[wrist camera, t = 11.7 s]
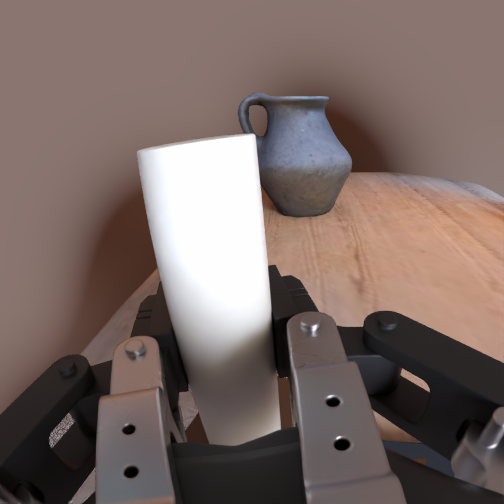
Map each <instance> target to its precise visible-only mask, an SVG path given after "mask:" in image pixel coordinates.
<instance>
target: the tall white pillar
mask: <svg viewBox="0 0 504 504" xmlns="http://www.w3.org/2000/svg"><path fill="white" fill-rule="evenodd" d="M137 160H138V166H139V172H140V178H141V184H142V190H143V196H144V202H145V207H146V212H147V218H148V223H149V228H150V233H151V238H152V242H153V247H154V252H155V256H156V261H157V266H158V270H159V274H160V279H161V283H162V287H163V291H164V295H165V299H166V303H167V307H168V311H169V315H170V319H171V322H172V326H173V330H174V333H175V337H176V341H177V344H178V348H179V351H180V355H181V358H182V362H183V365H184V368H185V372H186V375H187V378H188V381H189V384H190V388H191V391H192V394H193V397H194V400H195V403H196V406H197V409H198V412H199V413H198V414H197V415H196V417H195V418H194V420H193V421H192V422H191V424H190V425H189V427H188V428H187V429H186V431H185V433H186V438H187V442H197V443H206V444H216V445H228V446H236V445H240V444H243V443H246V442H248V441H251V440H254V439H257V438H259V437H262V436H264V435H267V434H269V433H272V432H274V431H277V430H280V429H286V428H291V427H293V423H292V411H291V399H290V382H289V379H288V378H284V377H283V378H279V377H278V376H277V369H276V358H275V346H274V333H273V321H272V307H271V296H270V284H269V273H268V261H267V250H266V239H265V228H264V218H263V207H262V197H261V186H260V176H259V166H258V156H257V146H256V136H255V134H252V133H251V134H237V135H227V136H218V137H211V138H203V139H196V140H189V141H182V142H176V143H171V144H165V145H160V146H155V147H150V148H145V149H141V150H139V151H137Z"/></svg>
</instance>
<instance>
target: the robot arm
mask: <svg viewBox="0 0 504 504" xmlns="http://www.w3.org/2000/svg"><path fill="white" fill-rule="evenodd" d="M268 273H269V284H270V296H271V307H272V321H273V333H274V346H275V358H276V369H277V373H278V376H279V378H283V377H288V379H289V382H290V399H291V411H292V423H293V427H291V428H286V429H280V430H277V431H274V432H272V433H269V434H267V435H264V436H262V437H259V438H257V439H254V440H251V441H248V442H246V443H243V444H240V445H236V446H228V445H216V444H206V443H197V442H187V438H186V433H185V428H184V423H183V418H182V413H181V408H180V405H179V403H178V400H179V392H186V391H188V386H189V381H188V378H187V375H186V372H185V368H184V365H183V362H182V358H181V355H180V351H179V348H178V344H177V341H176V337H175V333H174V330H173V326H172V322H171V319H170V315H169V311H168V307H167V303H166V299H165V295H164V291H163V287H162V283H161V281H160V283H159V286H158V290H157V294H156V295H150V296H147V298H146V299H145V300H144V301H143V302H142V303H141V304H140V307H139V310H138V313H137V316H136V320H135V323H134V326H133V329H132V333H131V336H130V338H129V339H126V340H124V341H123V342H121V343H120V344H119V345H118V346H117V347H116V348H115V350H114V352H113V359H112V360H110V361H107V362H104V363H100V364H97V365H93V366H90V364H89V362H88V360H87V359H86V358H85V357H84V356H82V355H68V356H65V357H63V358H61V359H59V360H58V361H56V362H55V363H54V364H52V365H51V366H50V367H49V368H48V369H47V370H46V371H45V372H44V373H43V374H42V375H41V376H40V377H39V378H38V379H37V380H35V381H34V382H33V383H32V384H31V385H30V386H29V387H28V388H27V389H26V390H25V391H24V392H23V393H22V394H21V395H20V396H19V397H18V398H17V399H16V400H15V401H14V402H13V403H12V404H11V405H10V406H9V407H8V408H7V409H6V410H5V411H4V412H3V413H2V414H1V415H0V504H68V503H69V502H70V500H71V499H72V498H73V496H74V495H75V494H76V492H77V491H78V490H79V488H80V487H81V485H82V484H83V483H84V481H85V480H86V479H87V477H88V476H89V475H90V473H91V472H92V471H93V469H94V468H95V467H96V491H95V492H94V493H93V494H92V495H91V496H90V497H89V498H88V499H87V500H86V501H85V502H84V503H82V504H504V363H502V362H500V361H498V360H496V359H494V358H492V357H490V356H488V355H486V354H483V353H481V352H479V351H477V350H475V349H473V348H471V347H469V346H467V345H465V344H463V343H461V342H458V341H456V340H454V339H452V338H450V337H448V336H446V335H444V334H442V333H440V332H437V331H435V330H433V329H431V328H429V327H427V326H425V325H423V324H421V323H419V322H416V321H414V320H412V319H410V318H408V317H406V316H404V315H402V314H399V313H397V312H392V311H378V312H374V313H372V314H370V315H368V316H367V317H366V318H365V320H364V326H363V327H342V326H337V325H336V323H335V321H334V319H333V318H332V317H331V316H329V315H327V314H325V313H321V312H319V311H318V309H317V307H316V306H315V304H314V302H313V301H312V299H311V297H310V296H309V295H308V292H307V291H306V289H305V287H304V286H303V284H302V283H301V281H300V280H299V279H297V278H295V277H293V276H292V275H289V276H283V277H281V275H280V273H279V271H278V269H277V267H276V265H270V266H268ZM402 368H403V369H405V370H407V371H408V372H410V373H412V374H414V375H415V376H417V377H419V378H421V379H422V380H424V381H425V382H426V383H427V384H428V386H429V388H430V392H428V391H426V390H424V389H423V388H421V387H419V386H418V385H416V384H414V383H412V382H411V381H409V380H407V379H406V378H404V377H402V376H401V375H400V374H401V370H402ZM372 409H373V410H374V411H376V412H377V413H378V414H380V415H381V416H383V417H384V418H386V419H387V420H389V421H390V422H392V423H393V424H395V425H396V426H398V427H399V428H400V429H402V430H403V431H405V432H406V433H408V434H409V435H411V436H412V437H414V438H416V439H417V440H419V441H420V442H422V443H423V444H425V445H426V446H428V447H429V448H431V449H432V450H434V451H436V452H437V453H439V454H440V455H442V456H443V457H445V458H447V459H448V460H450V461H451V467H452V470H453V472H454V477H453V476H450V475H448V474H445V473H443V472H440V471H438V470H435V469H433V468H430V467H428V466H426V465H423V464H421V463H419V462H416V461H414V460H412V459H409V458H407V457H405V456H403V455H400V454H398V453H396V452H394V451H392V450H390V449H387V448H385V447H384V446H383V442H382V439H381V436H380V433H379V429H378V426H377V423H376V420H375V417H374V413H373V410H372ZM68 413H70V415H71V416H72V418H73V419H74V421H75V422H74V424H73V425H72V426H71V427H70V428H69V429H68V431H67V432H66V433H65V434H64V435H63V436H62V438H61V439H60V440H59V441H58V442H57V443H56V445H55V446H54V447H53V448H51V447H50V445H49V436H50V434H51V432H52V431H53V430H54V428H55V427H56V426H57V425H58V424H59V423H60V422H61V421H62V419H63V418H64V417H65V416H66V415H67V414H68Z"/></svg>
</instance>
